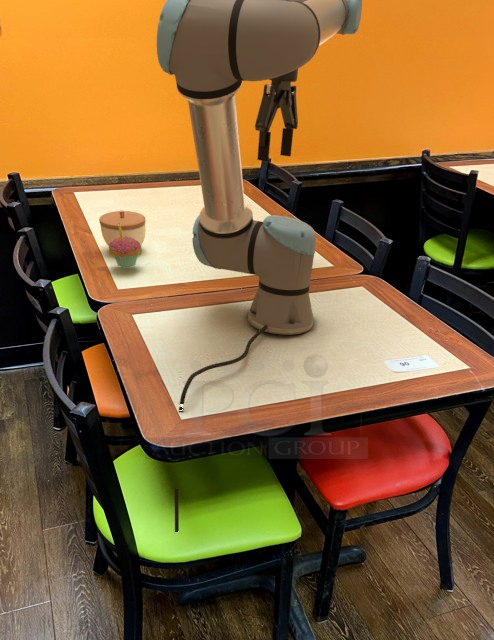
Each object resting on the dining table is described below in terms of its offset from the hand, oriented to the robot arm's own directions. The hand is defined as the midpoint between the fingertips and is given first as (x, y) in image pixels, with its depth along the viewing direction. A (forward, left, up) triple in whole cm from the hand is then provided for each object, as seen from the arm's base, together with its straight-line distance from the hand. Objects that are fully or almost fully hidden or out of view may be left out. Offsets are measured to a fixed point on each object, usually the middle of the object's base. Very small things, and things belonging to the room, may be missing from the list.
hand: (274, 158), depth 146 cm
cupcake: (-24, +30, -29) cm, 48 cm away
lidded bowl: (-13, +39, -29) cm, 50 cm away
